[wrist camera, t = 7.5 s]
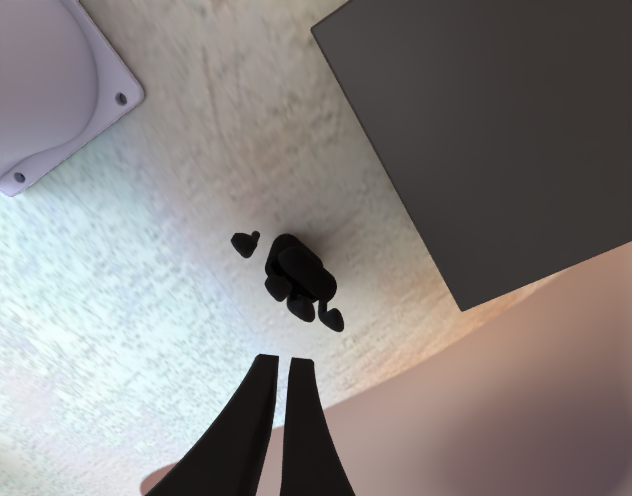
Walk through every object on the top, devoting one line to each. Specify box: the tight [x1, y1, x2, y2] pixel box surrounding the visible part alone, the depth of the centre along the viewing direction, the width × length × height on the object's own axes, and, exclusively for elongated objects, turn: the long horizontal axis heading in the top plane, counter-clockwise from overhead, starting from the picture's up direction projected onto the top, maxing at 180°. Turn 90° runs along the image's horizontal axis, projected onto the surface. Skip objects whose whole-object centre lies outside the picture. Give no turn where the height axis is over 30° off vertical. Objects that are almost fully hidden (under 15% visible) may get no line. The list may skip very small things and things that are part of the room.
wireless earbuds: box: [231, 231, 344, 332], centre depth 18 cm, size 7×2×5 cm, turn 45°
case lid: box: [310, 0, 632, 312], centre depth 11 cm, size 11×12×1 cm
